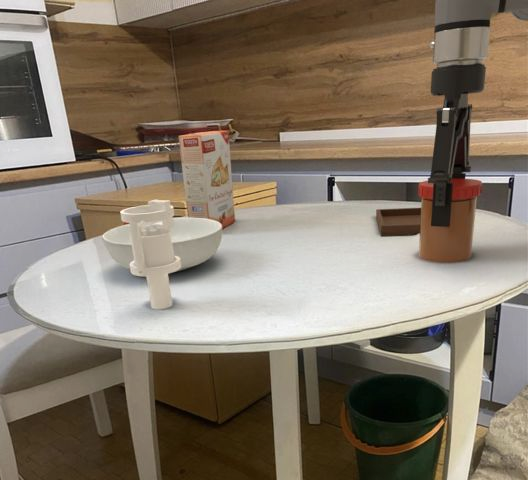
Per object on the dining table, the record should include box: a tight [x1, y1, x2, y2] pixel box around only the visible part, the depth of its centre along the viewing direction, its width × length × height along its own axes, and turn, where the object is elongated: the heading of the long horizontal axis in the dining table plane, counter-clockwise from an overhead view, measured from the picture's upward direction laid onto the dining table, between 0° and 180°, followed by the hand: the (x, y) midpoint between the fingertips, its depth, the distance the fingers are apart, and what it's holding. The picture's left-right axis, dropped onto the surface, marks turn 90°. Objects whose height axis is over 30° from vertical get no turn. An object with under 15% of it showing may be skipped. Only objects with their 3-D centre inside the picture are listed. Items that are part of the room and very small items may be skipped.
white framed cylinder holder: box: [119, 199, 181, 310], centre depth 74 cm, size 7×7×15 cm
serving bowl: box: [102, 216, 223, 273], centre depth 95 cm, size 21×21×7 cm
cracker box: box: [178, 130, 236, 229], centre depth 121 cm, size 14×6×21 cm, turn 160°
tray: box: [375, 207, 421, 237], centre depth 113 cm, size 18×14×2 cm
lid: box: [417, 178, 483, 199], centre depth 85 cm, size 10×10×2 cm
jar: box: [418, 196, 478, 264], centre depth 87 cm, size 8×8×12 cm
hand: (447, 219), depth 87 cm, fingers closed on lid, 9 cm apart
